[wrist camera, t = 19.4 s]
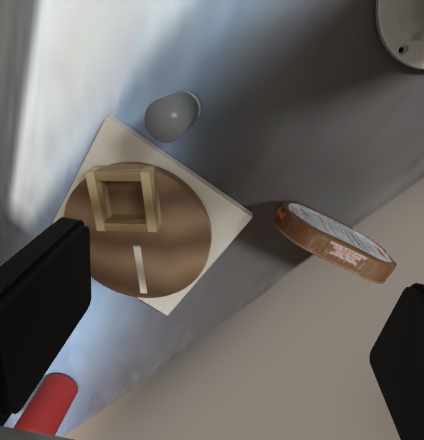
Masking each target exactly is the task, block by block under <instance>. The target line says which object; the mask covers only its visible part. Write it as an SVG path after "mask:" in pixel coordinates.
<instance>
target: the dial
mask: <svg viewBox="0 0 424 440" xmlns="http://www.w3.org/2000/svg"><path fill="white" fill-rule="evenodd" d="M85 176H86V178H85V179H84V180H83V181H82V182H80V183H79V184H78V186H77V187H76V188H75V189H74V190H73V192H72V193H71V195H70V197H69V199H68V201H67V203H66V207H65V211H64V217H66V218H72V219H77V220H82V221H83V222H84V225H85V226H88V227H89V230H90V265H91V277H93V278H94V279H95V280H96V281H98V282H99V283H101V284H102V285H104V286H106V287H108V288H110V289H111V290H114V291H116V292H119V293H122V294H125V295H128V296H133V297H140V298H158V297H164V296H168V295H172V294H174V293H177V292H179V291H181V290H183V289H185V288H186V287H188V286H189V285H190V284H192V283H193V282H194V281H195V280H196V279H197V278H198V276H199V275H200V274H201V272H202V271H203V269H204V267H205V265H206V262H207V259H208V256H209V251H210V246H211V240H212V231H211V223H210V220H209V216H208V213H207V211H206V208H205V206H204V205H203V203H202V201H201V199H200V198H199V197H198V195H197V194H196V193H195V191H194V190H193V189H192V188H191V187H190V186H189V185H188V184H187V183H185V182H184V181H183V180H182V179H180V178H179V177H178V176H176V175H174V174H173V173H171V172H169V171H167V170H165V169H163V168H161V167H158V166H155V165H152V164H147V163H142V162H120V163H115V164H111V165H108V166H93V167H92V168H90V169H89V170H87V171H86V172H85Z"/></svg>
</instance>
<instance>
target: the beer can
mask: <svg viewBox="0 0 424 440" xmlns="http://www.w3.org/2000/svg"><path fill="white" fill-rule="evenodd" d="M77 392H78V386H77V384H76V382H75V381H74V380H73V379H72V378H70V377H69V376H67V375H64V374H58V373H55V374H51V375H49V376H48V377H46V378H45V380H44V381H43V383H42V384H41V386H40V388H39V389H38V391H37V392H36V394H35V395H34V397H33V398H32V400H31V401H30V403H29V404H28V406H27V408H26V409H25V411H24V412H23V414H22V415H21V417H20V418H19V420H18V421H17V423H16V424H15V426H14V429H20V430H25V431H31V432H36V433H42V434H47V435H53V436H55V434H56V432H57V430H58V429H59V427H60V425H61V423H62V421H63V419H64V417H65V415H66V413H67V411H68V409H69V408H70V406H71V404H72V402H73V400H74V398H75V396H76V394H77Z"/></svg>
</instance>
